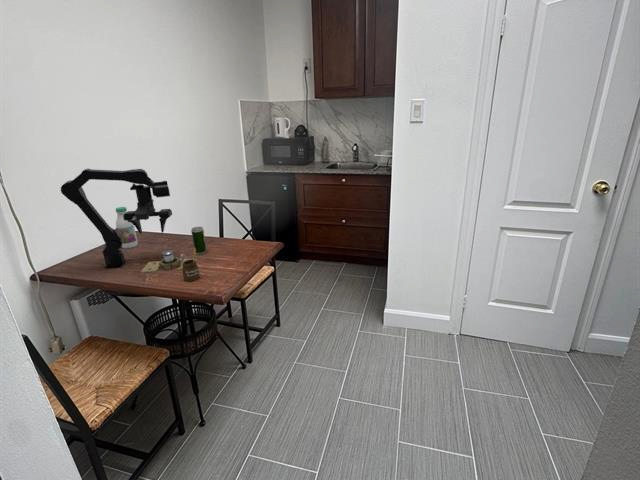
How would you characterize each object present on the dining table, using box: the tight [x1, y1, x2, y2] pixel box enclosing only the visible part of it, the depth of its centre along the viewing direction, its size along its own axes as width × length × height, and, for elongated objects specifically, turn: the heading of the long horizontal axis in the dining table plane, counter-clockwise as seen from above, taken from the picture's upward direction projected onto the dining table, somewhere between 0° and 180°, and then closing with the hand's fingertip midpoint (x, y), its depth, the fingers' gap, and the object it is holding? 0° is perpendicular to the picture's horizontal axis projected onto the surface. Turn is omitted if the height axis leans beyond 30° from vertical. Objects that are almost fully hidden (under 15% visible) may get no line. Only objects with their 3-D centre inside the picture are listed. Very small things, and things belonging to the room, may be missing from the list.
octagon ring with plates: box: [140, 256, 199, 274], centre depth 148 cm, size 21×10×2 cm, turn 97°
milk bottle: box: [115, 206, 139, 249], centre depth 170 cm, size 8×8×20 cm
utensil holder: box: [179, 248, 200, 282], centre depth 134 cm, size 6×6×12 cm
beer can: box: [191, 226, 208, 255], centre depth 160 cm, size 5×5×12 cm
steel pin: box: [161, 249, 175, 264], centre depth 147 cm, size 5×5×6 cm
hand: (151, 233), depth 153 cm, fingers open, 9 cm apart
